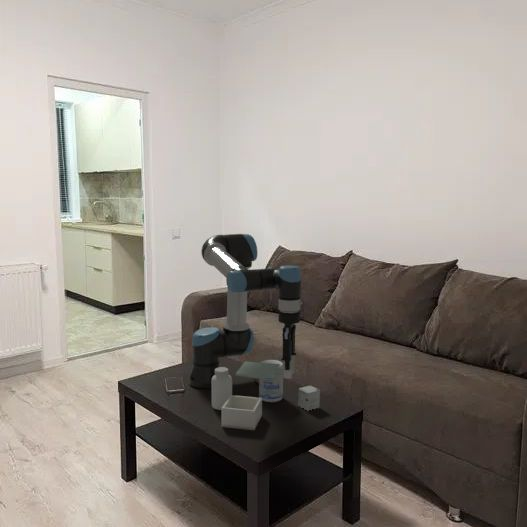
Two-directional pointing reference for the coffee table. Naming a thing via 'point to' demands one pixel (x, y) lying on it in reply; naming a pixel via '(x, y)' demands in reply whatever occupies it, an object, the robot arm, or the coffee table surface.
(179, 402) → the coffee table surface
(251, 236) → the robot arm
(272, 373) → the lid
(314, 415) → the coffee table surface
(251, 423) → the box
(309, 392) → the skincare box
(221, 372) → the pill bottle
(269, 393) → the supplement tub
